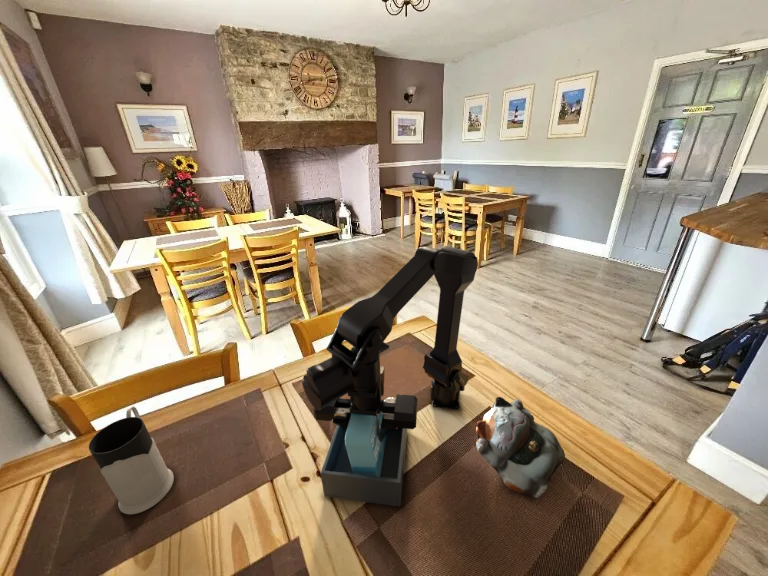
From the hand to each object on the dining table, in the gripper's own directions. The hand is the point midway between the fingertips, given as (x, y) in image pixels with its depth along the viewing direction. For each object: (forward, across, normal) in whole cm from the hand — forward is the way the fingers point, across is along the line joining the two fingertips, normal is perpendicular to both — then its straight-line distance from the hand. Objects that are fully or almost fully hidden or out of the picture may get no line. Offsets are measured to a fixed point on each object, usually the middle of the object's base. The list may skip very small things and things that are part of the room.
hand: (368, 438), depth 61 cm
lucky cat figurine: (+7, -29, -3) cm, 30 cm away
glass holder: (+6, +43, +9) cm, 45 cm away
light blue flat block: (+5, -1, 0) cm, 5 cm away
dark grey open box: (+6, 0, 0) cm, 6 cm away
